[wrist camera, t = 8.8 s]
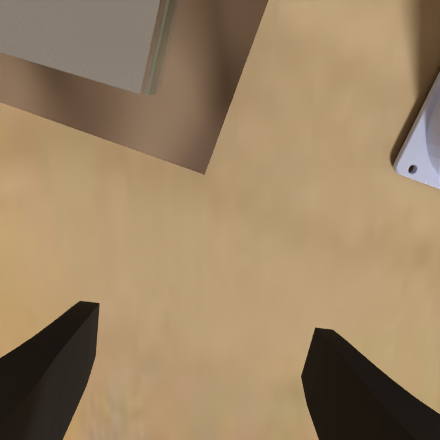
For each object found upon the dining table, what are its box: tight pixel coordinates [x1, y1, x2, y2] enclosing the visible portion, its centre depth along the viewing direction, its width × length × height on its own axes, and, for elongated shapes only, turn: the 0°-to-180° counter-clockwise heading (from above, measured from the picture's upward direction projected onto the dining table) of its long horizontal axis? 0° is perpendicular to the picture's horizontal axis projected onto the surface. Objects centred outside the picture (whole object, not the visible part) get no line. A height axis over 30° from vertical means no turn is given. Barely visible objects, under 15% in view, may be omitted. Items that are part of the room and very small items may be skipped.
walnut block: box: [0, 0, 268, 175], centre depth 18 cm, size 12×10×3 cm
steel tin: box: [0, 0, 180, 95], centre depth 13 cm, size 5×5×6 cm
